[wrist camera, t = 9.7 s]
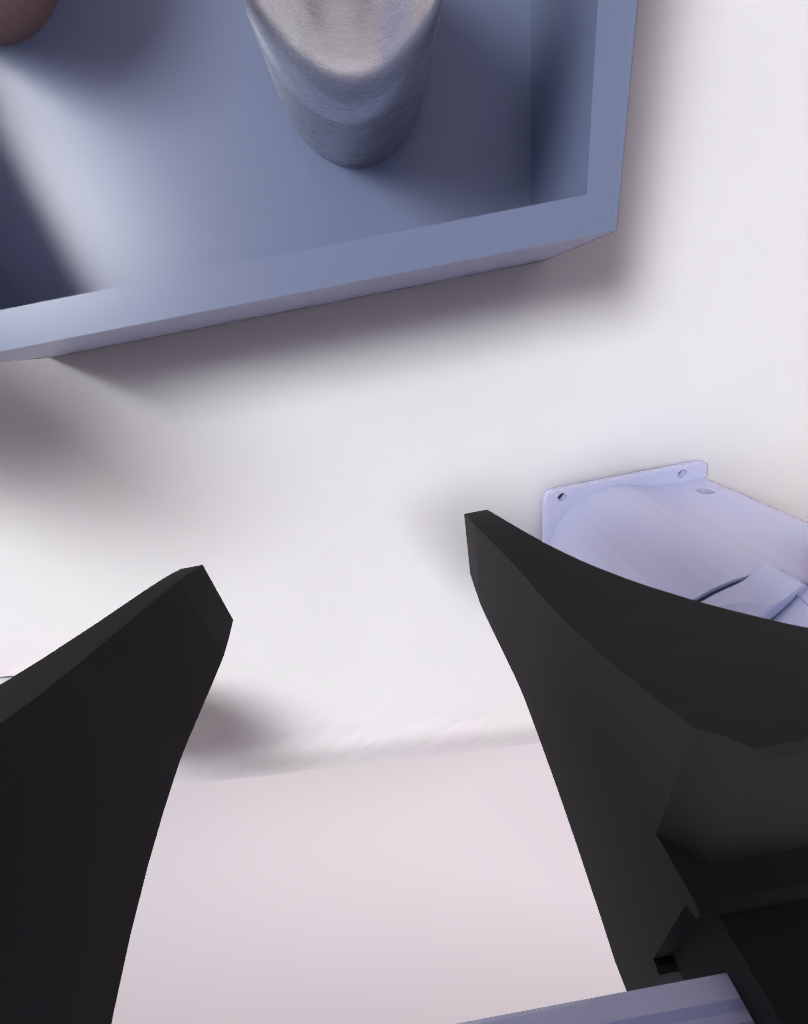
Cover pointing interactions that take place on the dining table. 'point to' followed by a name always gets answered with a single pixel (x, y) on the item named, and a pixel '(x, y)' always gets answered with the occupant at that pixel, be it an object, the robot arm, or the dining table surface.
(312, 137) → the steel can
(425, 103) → the slate blue tote
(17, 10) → the peach round blob
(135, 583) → the dining table surface
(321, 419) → the dining table surface
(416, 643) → the dining table surface
